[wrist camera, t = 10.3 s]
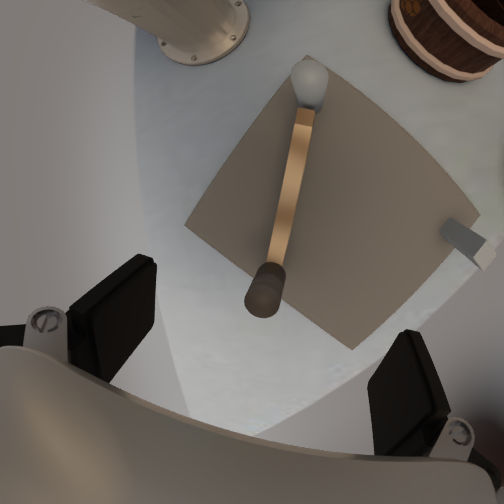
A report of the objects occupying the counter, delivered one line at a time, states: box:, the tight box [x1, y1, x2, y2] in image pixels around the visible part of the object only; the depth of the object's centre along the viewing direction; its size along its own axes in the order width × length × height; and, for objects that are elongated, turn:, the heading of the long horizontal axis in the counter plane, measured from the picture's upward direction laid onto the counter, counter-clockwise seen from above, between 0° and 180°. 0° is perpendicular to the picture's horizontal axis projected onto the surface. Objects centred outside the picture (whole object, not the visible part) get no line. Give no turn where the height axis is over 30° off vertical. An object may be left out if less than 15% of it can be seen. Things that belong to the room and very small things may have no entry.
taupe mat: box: [184, 55, 480, 350], centre depth 33 cm, size 30×27×1 cm
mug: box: [389, 0, 504, 83], centre depth 14 cm, size 20×15×15 cm
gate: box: [244, 107, 315, 318], centre depth 27 cm, size 20×3×13 cm, turn 170°
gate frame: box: [291, 60, 496, 271], centre depth 24 cm, size 26×3×13 cm, turn 54°
